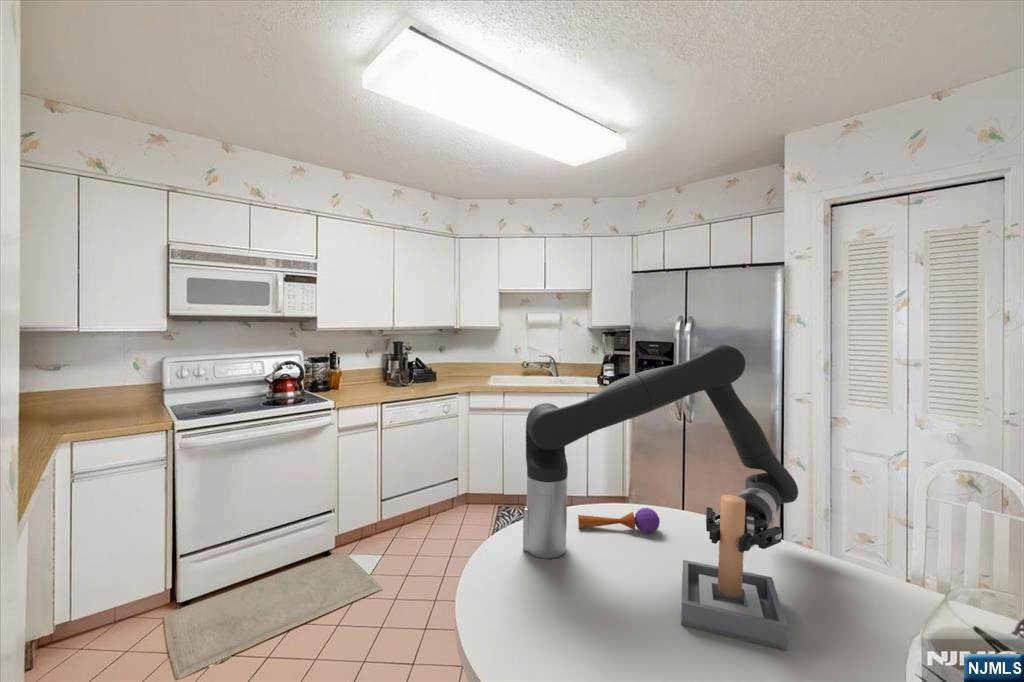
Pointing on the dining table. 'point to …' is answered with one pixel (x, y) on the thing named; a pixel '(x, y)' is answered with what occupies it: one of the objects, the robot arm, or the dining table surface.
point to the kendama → (625, 520)
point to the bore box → (733, 606)
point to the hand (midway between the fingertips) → (727, 542)
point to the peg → (731, 545)
